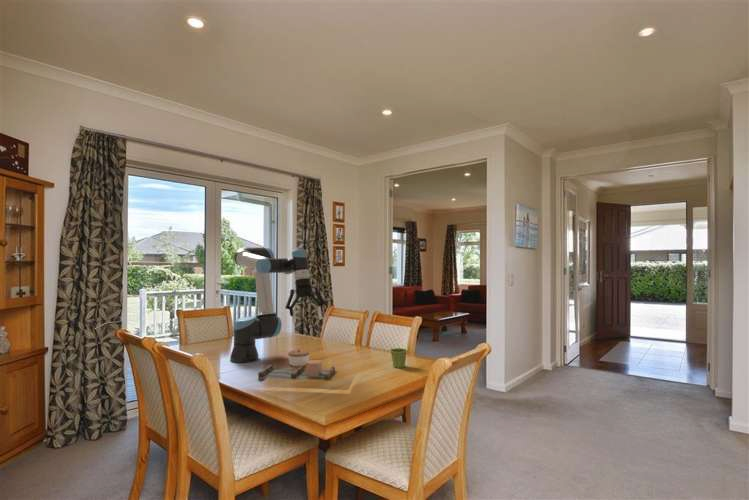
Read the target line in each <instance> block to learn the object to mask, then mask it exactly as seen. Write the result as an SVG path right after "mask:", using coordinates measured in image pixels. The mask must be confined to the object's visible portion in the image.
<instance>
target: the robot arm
mask: <svg viewBox="0 0 749 500" xmlns="http://www.w3.org/2000/svg"><path fill="white" fill-rule="evenodd" d="M233 259H234V262H235V264H236V265H237V266H239V267H242V268H243V267H244V268H251V271H252V272H253V273H254V279H255V287H256V288H255V289H256V299H257V310H258V311H257V314H256V315H255V316H253V315H252V316H243V317H240V318H237V319H236V320H235V321H234V322H233V348H232V351H231V354H230V359H229V360H230V362H232V363H241V364H242V363H250V362H254V361H258V360H259V352H258V349H257V346H256V340H260V339H271V338H275V337H278V335H280V332H281V330H282V319H281V317H279V316H278V315H277V312H276V311H274V304H273V303H274V302H273V294H272V292H273V291H272V286H271V284H272V283H271V275H270V274H284V275H290V274H293V273H294V274H293V275H294V280H295V281H294V283H295V289H294V288H292V289H290V291H289V296H288V299H287V302H286V305H285V308H284V309H286V310H289V315H290V317H292V318H291V319H292V324H296V323H297V317H296V311H295V308H294V307H295V306H296V304H297V303H298V301H299V300H300V298H301V299H303V298H310V299H311V300H312V301H313V302H314V303H315V305H317V307H316V309H317V314H318V321H319V320H320V321H321V320H322V319H323V314H322V313H323V312H324V311H323V306H324V305H325V304H326V302H325V299H324V298H323V297H322V295H321V294H320V292H319V290H318V287H317V286H315V287H313V288H312V284H311V279H310V278H311V277H310V268H309V261H308V255H307V250H306V249H304V248H298V249H293V250H292V251H291V257H289V258H275V254H274V252H273V250H271V248H269V247H250V246H249V247H241V248H238V249H237V250H236V252H234V256H233ZM312 292H313V293H314V294H313V293H312ZM295 293H296V294H297V295H296V297H295V299H294V300H293V298H294V294H295ZM292 300H293V301H292Z"/></svg>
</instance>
